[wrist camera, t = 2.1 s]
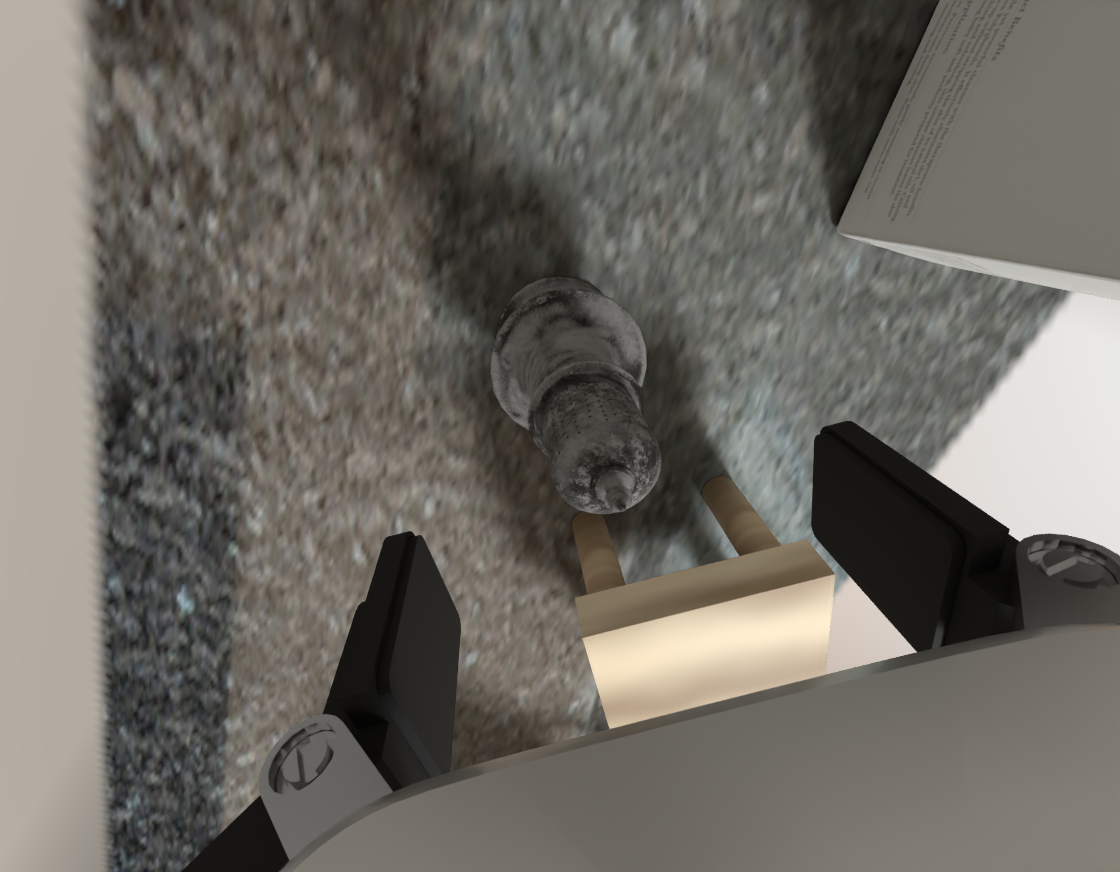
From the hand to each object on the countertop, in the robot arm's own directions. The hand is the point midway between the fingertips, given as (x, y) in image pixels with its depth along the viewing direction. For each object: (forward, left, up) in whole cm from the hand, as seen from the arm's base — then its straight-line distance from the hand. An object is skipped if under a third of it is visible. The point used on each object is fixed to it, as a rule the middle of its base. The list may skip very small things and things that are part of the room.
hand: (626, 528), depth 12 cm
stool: (+13, +3, -12) cm, 18 cm away
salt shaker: (-1, 0, -12) cm, 12 cm away
